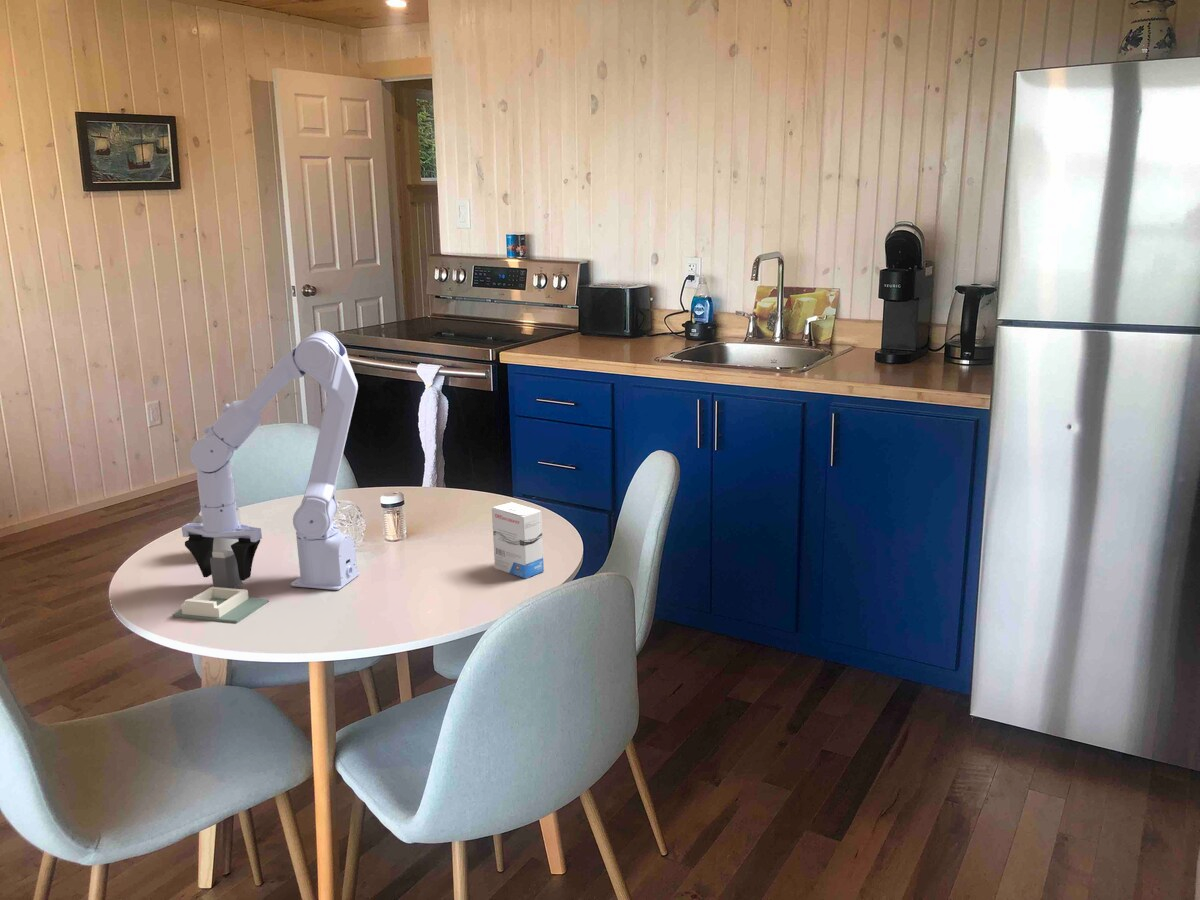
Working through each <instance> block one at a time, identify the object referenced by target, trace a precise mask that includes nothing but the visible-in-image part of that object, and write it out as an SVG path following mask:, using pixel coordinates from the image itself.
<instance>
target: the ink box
mask: <svg viewBox="0 0 1200 900" xmlns="http://www.w3.org/2000/svg"><path fill="white" fill-rule="evenodd" d="M491 516H492V517H491V519H492V521H491V522H492V534H493V536H492V537H493V555H494V556H493V557H494V558H493V560H494V569H496V570H498V571H503V572H505V573H508V574H510V575H514V576H517V577H520V578H522V579H529V578H530V577H533V576H536V575H538V574H540V573H543V572H544V570H545V569H544V548H543V547H544V545H543V544H544V542H543V522H542V518H543V517H542V510H539V509H536V508H533V507H529V506H526V505H522V504H518V503H517V502H513V501H512V502H508V503H504V504H500V505H496V506H493V507H491Z"/></svg>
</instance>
